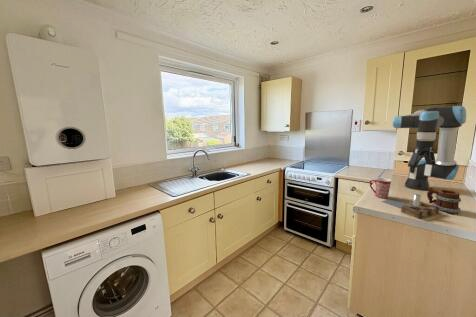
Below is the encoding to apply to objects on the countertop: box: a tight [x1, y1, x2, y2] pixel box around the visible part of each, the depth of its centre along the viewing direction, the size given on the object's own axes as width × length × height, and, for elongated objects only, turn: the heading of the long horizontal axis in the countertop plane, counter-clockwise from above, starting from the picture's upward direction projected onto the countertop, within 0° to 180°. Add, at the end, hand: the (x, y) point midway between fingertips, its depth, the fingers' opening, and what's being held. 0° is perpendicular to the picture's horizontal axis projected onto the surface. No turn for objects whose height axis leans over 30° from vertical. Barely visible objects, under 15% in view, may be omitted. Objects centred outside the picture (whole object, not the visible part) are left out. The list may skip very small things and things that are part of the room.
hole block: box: [400, 201, 440, 220], centre depth 116 cm, size 18×9×4 cm, turn 110°
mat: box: [380, 197, 411, 209], centre depth 130 cm, size 14×12×1 cm
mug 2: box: [426, 186, 462, 215], centre depth 119 cm, size 12×14×15 cm
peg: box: [411, 193, 422, 210], centre depth 114 cm, size 3×3×12 cm
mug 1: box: [369, 177, 392, 200], centre depth 142 cm, size 13×9×14 cm
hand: (419, 177), depth 112 cm, fingers open, 13 cm apart
